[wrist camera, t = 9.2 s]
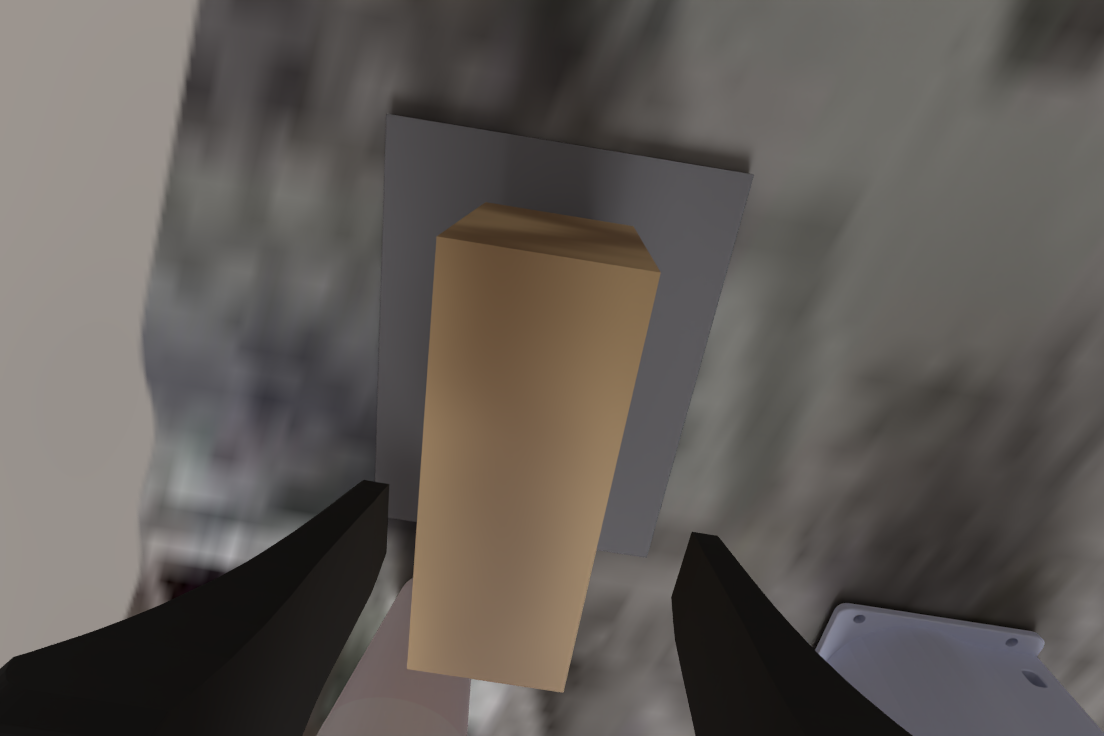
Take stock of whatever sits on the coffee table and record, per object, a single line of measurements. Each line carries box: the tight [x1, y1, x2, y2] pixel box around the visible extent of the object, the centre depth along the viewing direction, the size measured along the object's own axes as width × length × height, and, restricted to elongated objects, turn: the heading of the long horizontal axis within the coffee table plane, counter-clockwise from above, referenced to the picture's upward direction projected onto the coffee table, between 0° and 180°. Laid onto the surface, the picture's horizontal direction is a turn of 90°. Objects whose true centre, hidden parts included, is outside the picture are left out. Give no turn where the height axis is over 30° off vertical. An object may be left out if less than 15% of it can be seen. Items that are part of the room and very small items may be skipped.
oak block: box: [407, 202, 661, 692], centre depth 16 cm, size 4×12×6 cm, turn 171°
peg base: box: [375, 114, 754, 558], centre depth 20 cm, size 12×16×3 cm
